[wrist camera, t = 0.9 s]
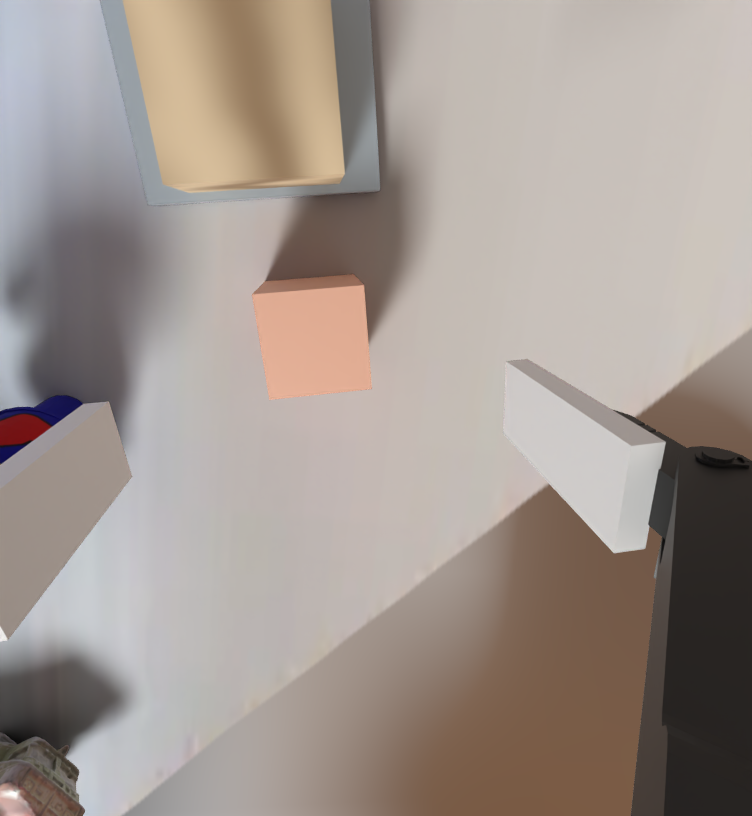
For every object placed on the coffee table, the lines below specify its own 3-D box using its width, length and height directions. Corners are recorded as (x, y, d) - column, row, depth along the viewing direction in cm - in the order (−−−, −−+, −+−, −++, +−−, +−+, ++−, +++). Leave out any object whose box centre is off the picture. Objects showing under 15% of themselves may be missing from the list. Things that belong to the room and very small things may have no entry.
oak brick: (189, 192, 27) (162, 184, 22) (150, 2, 23) (110, -56, 19) (339, 183, 27) (344, 173, 23) (323, -2, 24) (326, -58, 20)
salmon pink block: (278, 366, 32) (269, 399, 26) (265, 281, 30) (251, 294, 24) (360, 358, 33) (371, 388, 27) (353, 274, 31) (364, 285, 24)
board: (154, 206, 28) (147, 204, 27) (107, 2, 24) (97, -10, 23) (377, 191, 29) (380, 190, 28) (366, -4, 25) (368, -15, 24)
